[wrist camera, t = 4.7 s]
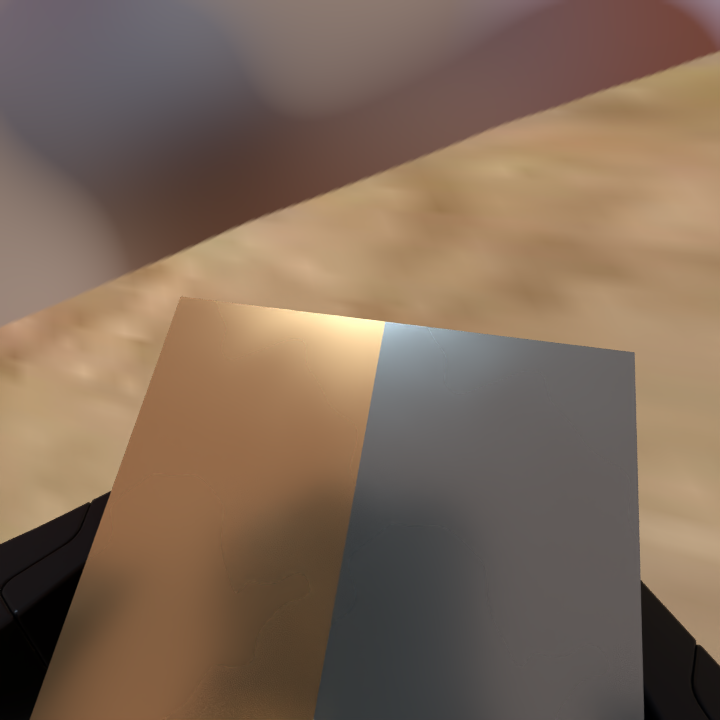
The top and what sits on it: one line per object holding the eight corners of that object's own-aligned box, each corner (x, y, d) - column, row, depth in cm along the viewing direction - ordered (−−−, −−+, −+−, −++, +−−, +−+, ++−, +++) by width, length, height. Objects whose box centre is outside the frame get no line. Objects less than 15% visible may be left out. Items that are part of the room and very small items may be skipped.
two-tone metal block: (460, 621, 13) (654, 1115, 3) (294, 580, 14) (-11, 833, 4) (476, 446, 15) (634, 352, 5) (328, 420, 16) (181, 296, 6)
